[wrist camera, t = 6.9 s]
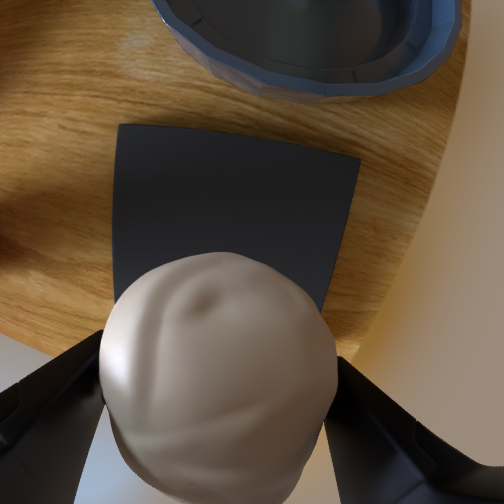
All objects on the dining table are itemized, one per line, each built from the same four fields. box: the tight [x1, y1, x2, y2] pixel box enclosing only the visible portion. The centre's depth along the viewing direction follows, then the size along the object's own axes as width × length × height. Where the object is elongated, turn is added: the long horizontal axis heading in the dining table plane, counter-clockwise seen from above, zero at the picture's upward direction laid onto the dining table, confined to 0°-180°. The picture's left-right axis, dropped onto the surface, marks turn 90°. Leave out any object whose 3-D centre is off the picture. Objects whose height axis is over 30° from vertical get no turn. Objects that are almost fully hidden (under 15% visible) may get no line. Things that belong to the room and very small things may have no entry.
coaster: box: [112, 124, 361, 313], centre depth 16 cm, size 12×12×1 cm
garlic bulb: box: [98, 252, 338, 504], centre depth 7 cm, size 7×6×8 cm
